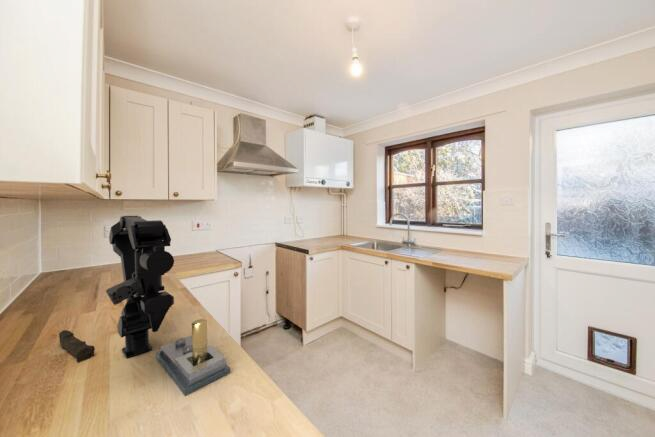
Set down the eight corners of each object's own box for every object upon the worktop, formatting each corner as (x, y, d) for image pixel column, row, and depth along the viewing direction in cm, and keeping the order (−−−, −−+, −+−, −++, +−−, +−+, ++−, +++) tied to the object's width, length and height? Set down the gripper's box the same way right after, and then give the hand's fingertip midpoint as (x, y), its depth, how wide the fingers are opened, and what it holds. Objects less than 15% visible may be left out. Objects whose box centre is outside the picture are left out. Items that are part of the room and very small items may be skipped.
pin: (189, 371, 65) (188, 324, 64) (200, 363, 68) (199, 318, 68) (200, 374, 64) (199, 326, 63) (210, 366, 67) (209, 320, 66)
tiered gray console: (156, 358, 73) (155, 343, 73) (196, 343, 81) (195, 329, 81) (184, 395, 58) (184, 377, 58) (229, 372, 67) (229, 356, 67)
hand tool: (95, 357, 74) (95, 341, 73) (76, 364, 70) (76, 348, 70) (73, 339, 83) (73, 325, 83) (56, 345, 80) (56, 330, 80)
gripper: (102, 267, 67) (103, 325, 67) (116, 281, 54) (118, 352, 55) (152, 261, 75) (153, 312, 76) (174, 271, 63) (175, 333, 63)
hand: (149, 325), depth 67 cm, fingers open, 9 cm apart
